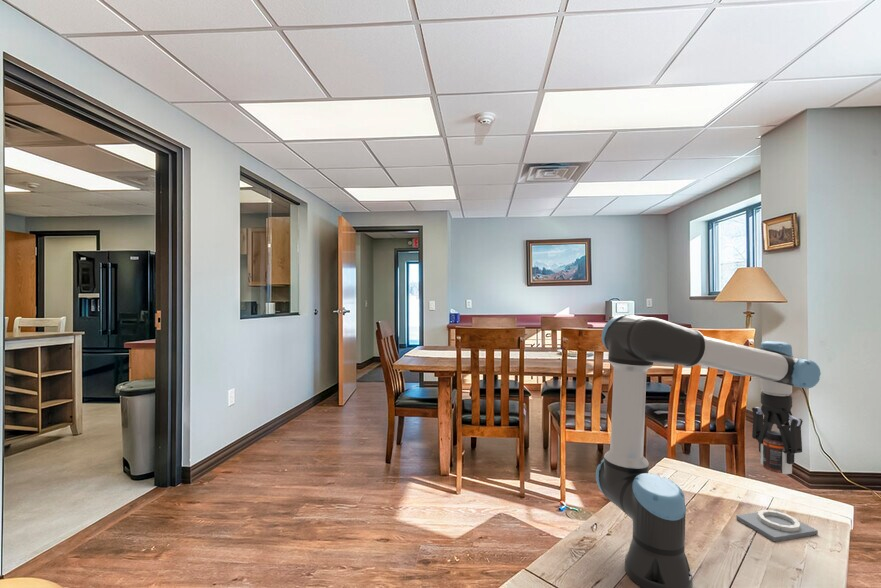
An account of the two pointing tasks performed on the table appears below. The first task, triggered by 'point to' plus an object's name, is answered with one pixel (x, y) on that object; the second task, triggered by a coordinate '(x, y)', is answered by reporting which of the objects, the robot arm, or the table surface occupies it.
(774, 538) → the hub board
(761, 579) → the table surface
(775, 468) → the supplement bottle
